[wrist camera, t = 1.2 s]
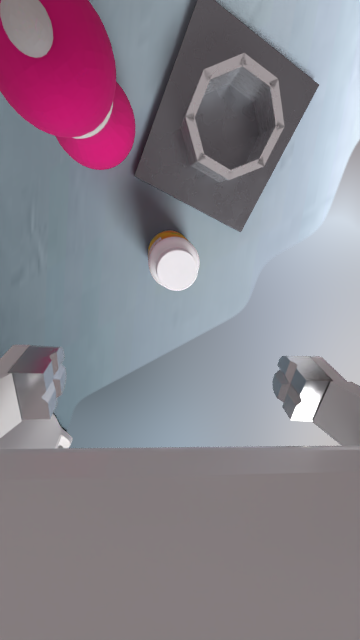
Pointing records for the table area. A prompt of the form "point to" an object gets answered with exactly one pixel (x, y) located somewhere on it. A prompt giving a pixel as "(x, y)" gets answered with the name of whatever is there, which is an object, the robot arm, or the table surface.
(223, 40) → the collar
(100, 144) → the pepper mill
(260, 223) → the table surface
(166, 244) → the supplement bottle
